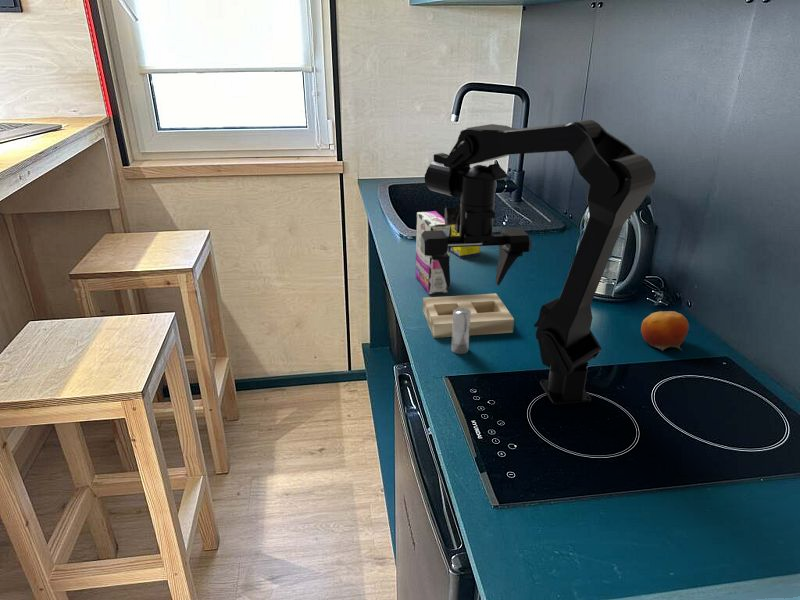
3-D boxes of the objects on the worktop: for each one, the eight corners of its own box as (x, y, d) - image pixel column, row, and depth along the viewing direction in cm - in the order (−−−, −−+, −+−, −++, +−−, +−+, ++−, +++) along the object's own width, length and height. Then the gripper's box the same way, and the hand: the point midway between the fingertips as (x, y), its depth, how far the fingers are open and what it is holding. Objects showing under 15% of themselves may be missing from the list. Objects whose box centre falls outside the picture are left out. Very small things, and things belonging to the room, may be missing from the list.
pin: (470, 353, 105) (472, 315, 101) (453, 354, 104) (455, 316, 101) (465, 344, 107) (468, 307, 104) (449, 345, 107) (451, 308, 103)
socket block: (512, 332, 112) (514, 319, 110) (433, 337, 110) (434, 324, 108) (495, 305, 122) (496, 293, 121) (422, 310, 120) (423, 297, 119)
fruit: (665, 355, 101) (658, 311, 102) (637, 355, 109) (630, 315, 110) (703, 349, 103) (695, 306, 104) (672, 350, 111) (666, 310, 112)
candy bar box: (449, 293, 128) (452, 224, 121) (428, 295, 127) (430, 226, 120) (434, 274, 138) (436, 209, 131) (414, 276, 137) (415, 211, 130)
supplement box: (448, 251, 152) (450, 212, 148) (467, 248, 155) (470, 209, 150) (460, 258, 148) (462, 218, 143) (479, 255, 150) (482, 215, 145)
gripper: (517, 188, 104) (510, 267, 111) (417, 191, 102) (416, 271, 109) (536, 205, 94) (527, 290, 100) (425, 208, 92) (424, 295, 99)
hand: (472, 285), depth 102 cm, fingers open, 9 cm apart
